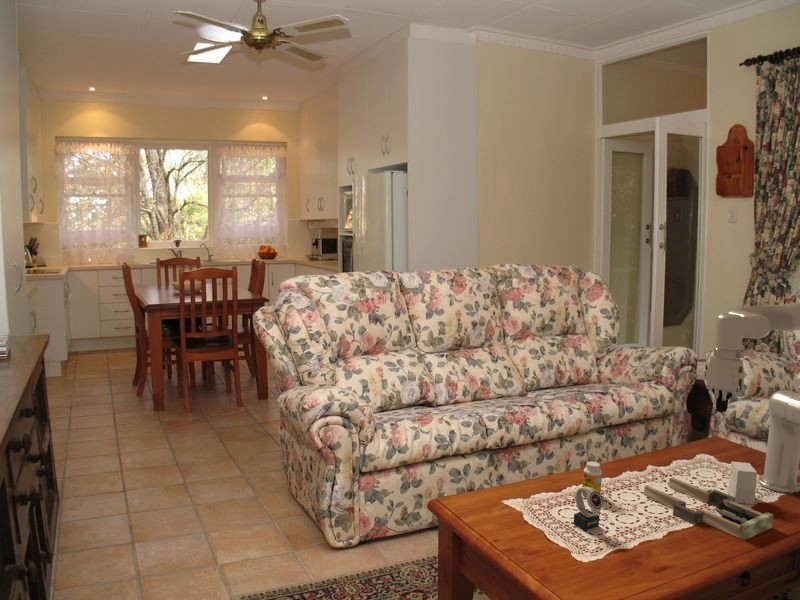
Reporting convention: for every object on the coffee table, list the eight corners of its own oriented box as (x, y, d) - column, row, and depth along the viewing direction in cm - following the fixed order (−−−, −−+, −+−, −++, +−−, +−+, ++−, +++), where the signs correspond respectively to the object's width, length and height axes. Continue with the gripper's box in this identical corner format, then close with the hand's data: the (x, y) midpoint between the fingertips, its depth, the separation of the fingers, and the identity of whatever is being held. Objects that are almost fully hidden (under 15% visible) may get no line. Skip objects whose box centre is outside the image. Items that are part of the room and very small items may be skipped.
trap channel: (677, 483, 228) (679, 472, 227) (778, 524, 201) (779, 511, 200) (636, 498, 216) (637, 486, 215) (737, 543, 189) (738, 529, 189)
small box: (754, 505, 214) (757, 472, 212) (734, 503, 215) (738, 470, 213) (746, 494, 221) (750, 462, 220) (727, 492, 222) (731, 460, 221)
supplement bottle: (578, 492, 219) (580, 461, 217) (592, 490, 221) (594, 459, 219) (589, 499, 214) (591, 468, 212) (604, 497, 216) (606, 465, 214)
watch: (590, 533, 193) (592, 496, 191) (568, 521, 199) (571, 485, 198) (604, 529, 195) (607, 492, 194) (583, 517, 202) (585, 481, 200)
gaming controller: (717, 519, 208) (709, 508, 205) (724, 507, 209) (716, 495, 206) (753, 534, 199) (745, 522, 196) (760, 521, 201) (752, 509, 197)
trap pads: (713, 500, 216) (713, 499, 216) (728, 507, 212) (728, 506, 212) (678, 514, 206) (678, 513, 206) (693, 521, 202) (693, 520, 202)
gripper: (757, 357, 210) (751, 416, 213) (711, 347, 222) (706, 403, 225) (743, 360, 206) (737, 420, 209) (697, 350, 218) (692, 406, 221)
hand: (721, 411), depth 217 cm, fingers closed
